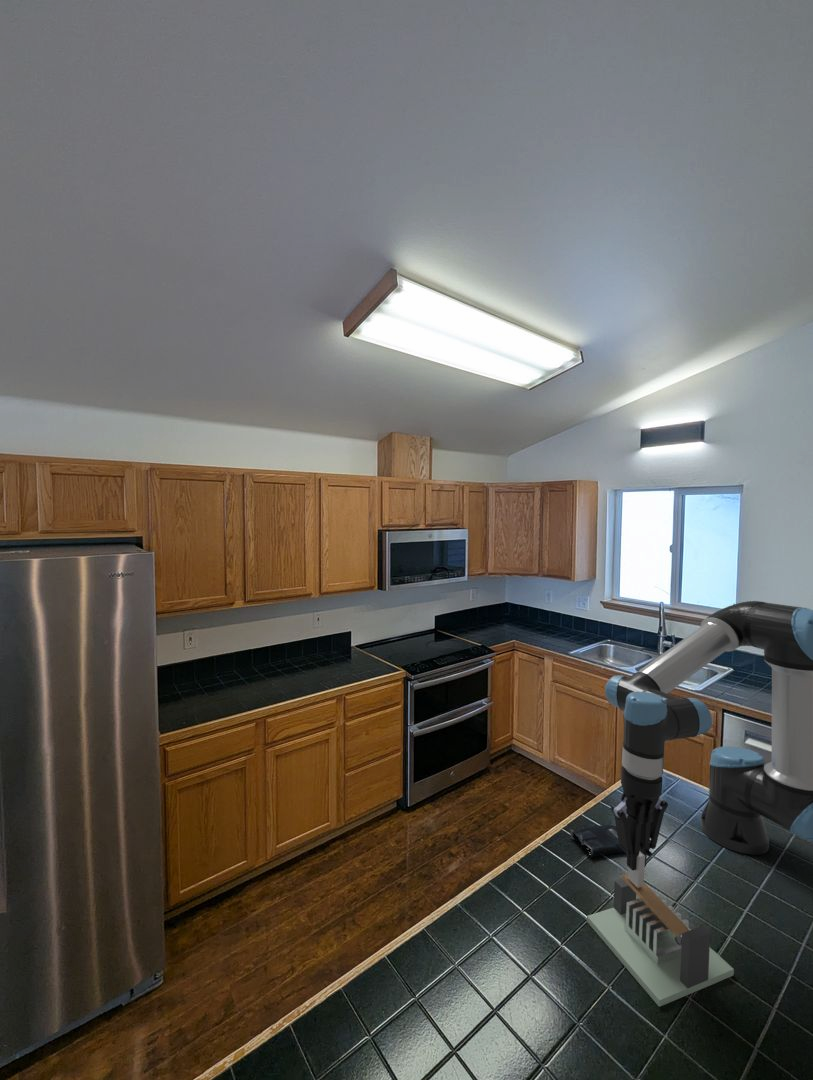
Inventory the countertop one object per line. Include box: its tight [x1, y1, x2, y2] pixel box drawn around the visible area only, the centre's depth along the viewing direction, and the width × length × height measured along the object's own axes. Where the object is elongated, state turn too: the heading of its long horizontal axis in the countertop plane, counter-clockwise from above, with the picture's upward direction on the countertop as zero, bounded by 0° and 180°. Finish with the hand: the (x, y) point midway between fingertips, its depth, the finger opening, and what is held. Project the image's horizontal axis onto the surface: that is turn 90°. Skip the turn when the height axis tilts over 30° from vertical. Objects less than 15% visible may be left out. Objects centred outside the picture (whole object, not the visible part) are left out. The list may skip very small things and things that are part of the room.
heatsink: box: [624, 892, 690, 965], centre depth 91 cm, size 8×8×6 cm
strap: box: [621, 872, 690, 945], centre depth 91 cm, size 4×15×1 cm, turn 19°
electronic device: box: [569, 824, 626, 858], centre depth 120 cm, size 9×6×15 cm
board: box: [586, 878, 735, 1008], centre depth 91 cm, size 18×18×10 cm
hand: (635, 882), depth 95 cm, fingers closed
